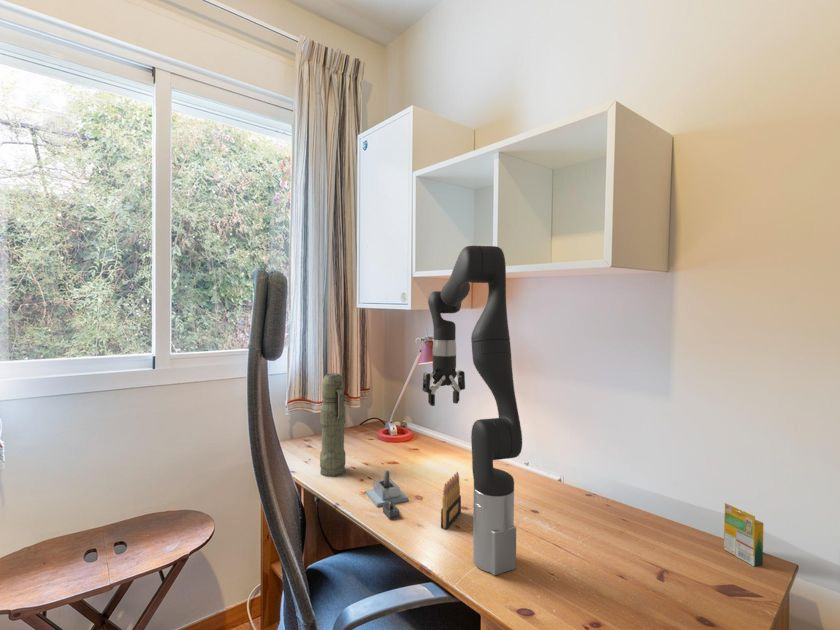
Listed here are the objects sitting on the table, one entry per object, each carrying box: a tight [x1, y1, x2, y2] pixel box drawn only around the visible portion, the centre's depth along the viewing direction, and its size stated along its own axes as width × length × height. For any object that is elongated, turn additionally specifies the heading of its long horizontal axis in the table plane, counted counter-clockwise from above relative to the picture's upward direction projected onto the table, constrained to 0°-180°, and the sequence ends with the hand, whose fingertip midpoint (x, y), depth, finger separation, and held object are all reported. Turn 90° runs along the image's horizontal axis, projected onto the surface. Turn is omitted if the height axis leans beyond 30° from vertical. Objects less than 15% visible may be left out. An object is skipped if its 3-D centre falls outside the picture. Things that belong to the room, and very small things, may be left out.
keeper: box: [365, 470, 409, 508], centre depth 132 cm, size 10×10×8 cm
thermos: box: [319, 373, 346, 478], centre depth 151 cm, size 9×12×35 cm
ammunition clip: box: [440, 471, 462, 530], centre depth 118 cm, size 11×2×12 cm, turn 154°
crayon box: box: [723, 502, 764, 567], centre depth 101 cm, size 7×3×12 cm, turn 17°
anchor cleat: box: [382, 501, 400, 520], centre depth 120 cm, size 5×3×4 cm, turn 26°
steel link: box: [373, 477, 401, 501], centre depth 132 cm, size 8×6×3 cm
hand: (444, 404), depth 136 cm, fingers open, 8 cm apart
